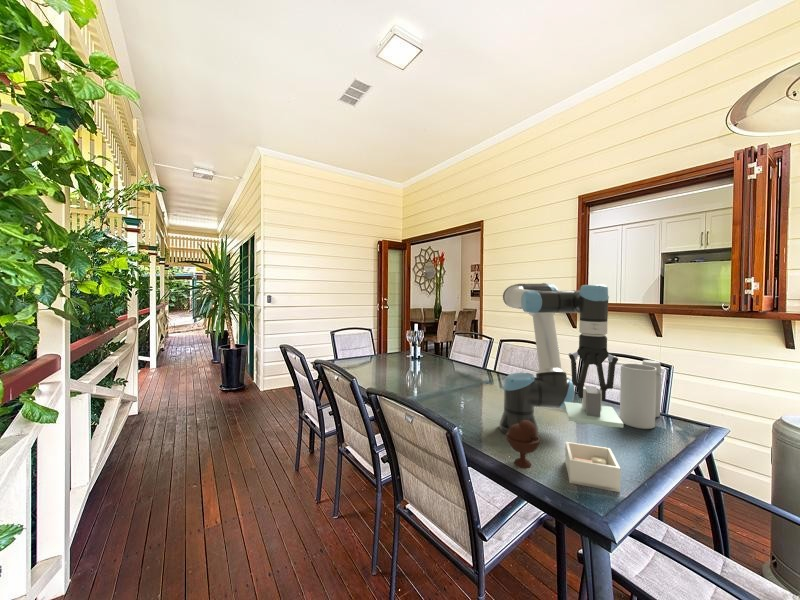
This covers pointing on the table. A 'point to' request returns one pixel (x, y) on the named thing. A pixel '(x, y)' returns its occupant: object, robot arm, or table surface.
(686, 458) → the table surface
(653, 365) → the water bottle
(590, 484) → the crate
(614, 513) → the table surface
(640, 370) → the cylinder vase
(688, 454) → the table surface
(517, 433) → the ice cream bowl
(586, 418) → the lid
